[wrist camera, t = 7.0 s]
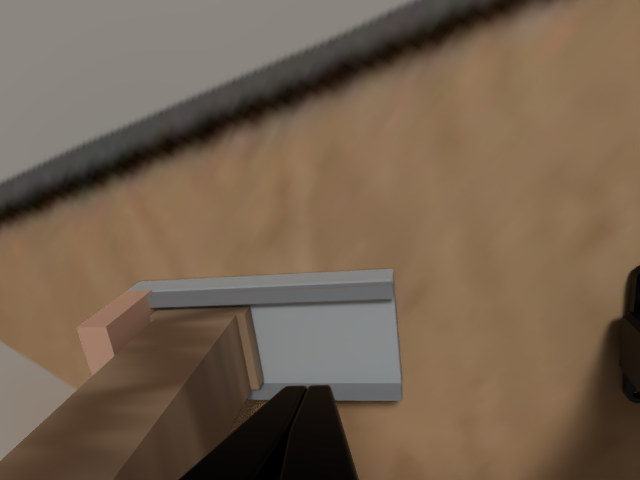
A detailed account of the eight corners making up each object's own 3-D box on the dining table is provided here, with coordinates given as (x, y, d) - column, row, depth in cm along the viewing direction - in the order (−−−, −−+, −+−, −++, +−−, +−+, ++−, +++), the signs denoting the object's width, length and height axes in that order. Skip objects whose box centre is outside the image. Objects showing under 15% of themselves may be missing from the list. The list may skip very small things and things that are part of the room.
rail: (393, 268, 21) (389, 318, 16) (402, 380, 22) (401, 453, 18) (139, 281, 23) (76, 327, 19) (165, 380, 25) (113, 444, 21)
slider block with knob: (250, 306, 21) (74, 552, 10) (263, 379, 22) (121, 673, 11) (157, 309, 22) (-97, 537, 11) (175, 379, 23) (-38, 649, 12)
